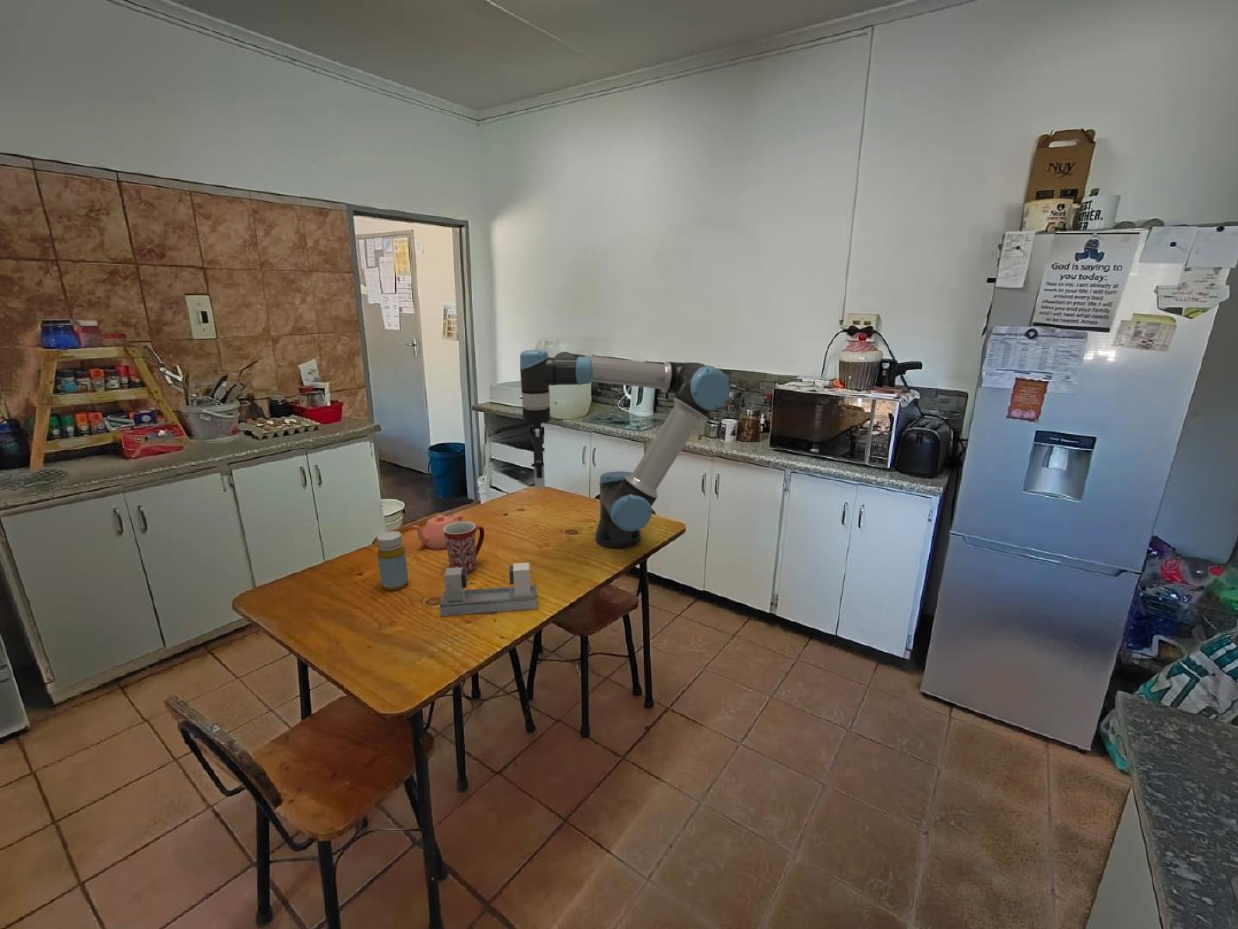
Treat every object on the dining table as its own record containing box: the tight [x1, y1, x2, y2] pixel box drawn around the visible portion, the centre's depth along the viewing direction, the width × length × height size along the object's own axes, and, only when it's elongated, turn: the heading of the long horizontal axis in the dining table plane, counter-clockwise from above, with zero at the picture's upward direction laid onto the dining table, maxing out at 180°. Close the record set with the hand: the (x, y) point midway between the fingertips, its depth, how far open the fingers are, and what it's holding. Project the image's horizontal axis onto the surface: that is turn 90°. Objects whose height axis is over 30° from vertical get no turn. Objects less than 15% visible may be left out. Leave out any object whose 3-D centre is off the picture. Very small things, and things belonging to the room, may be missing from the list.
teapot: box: [411, 514, 464, 550], centre depth 181 cm, size 12×18×10 cm
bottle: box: [376, 530, 409, 592], centre depth 153 cm, size 7×7×15 cm
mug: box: [443, 521, 485, 575], centre depth 164 cm, size 13×9×14 cm
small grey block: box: [508, 562, 531, 598], centre depth 144 cm, size 5×4×8 cm
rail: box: [439, 567, 538, 617], centre depth 143 cm, size 24×7×10 cm, turn 99°
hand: (539, 480), depth 159 cm, fingers open, 13 cm apart
